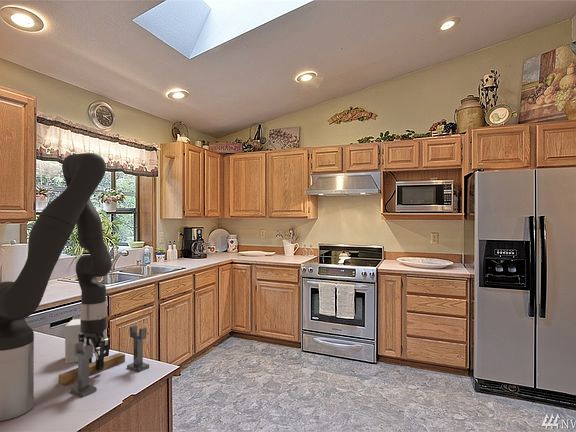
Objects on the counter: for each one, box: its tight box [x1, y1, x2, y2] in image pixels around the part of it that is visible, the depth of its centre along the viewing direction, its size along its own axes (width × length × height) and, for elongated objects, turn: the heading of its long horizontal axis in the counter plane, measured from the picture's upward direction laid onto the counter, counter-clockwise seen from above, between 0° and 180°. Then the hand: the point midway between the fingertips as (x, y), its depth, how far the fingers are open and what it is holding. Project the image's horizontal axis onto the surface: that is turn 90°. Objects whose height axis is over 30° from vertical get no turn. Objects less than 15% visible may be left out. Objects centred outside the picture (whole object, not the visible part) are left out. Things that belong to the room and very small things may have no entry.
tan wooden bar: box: [57, 352, 126, 387], centre depth 111 cm, size 20×3×3 cm, turn 150°
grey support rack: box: [70, 324, 150, 398], centre depth 107 cm, size 22×6×14 cm, turn 151°
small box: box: [64, 318, 84, 364], centre depth 123 cm, size 8×6×13 cm
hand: (93, 367), depth 111 cm, fingers open, 6 cm apart
